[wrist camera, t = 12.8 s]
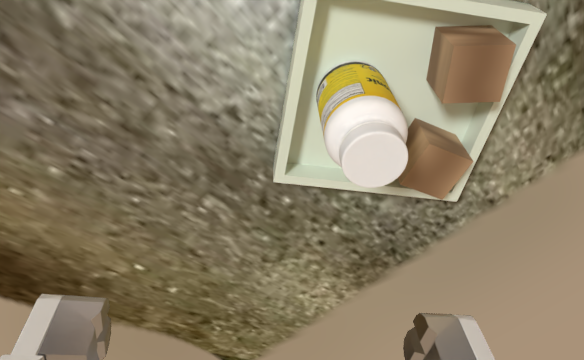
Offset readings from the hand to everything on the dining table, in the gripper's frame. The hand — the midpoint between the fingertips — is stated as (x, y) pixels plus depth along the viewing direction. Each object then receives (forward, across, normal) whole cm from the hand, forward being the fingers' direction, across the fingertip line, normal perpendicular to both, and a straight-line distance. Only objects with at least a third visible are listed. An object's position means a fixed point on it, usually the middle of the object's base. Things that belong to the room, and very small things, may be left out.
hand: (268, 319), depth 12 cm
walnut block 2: (+24, -15, +7) cm, 29 cm away
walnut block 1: (+24, -15, -1) cm, 28 cm away
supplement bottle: (+24, -8, +4) cm, 26 cm away
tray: (+24, -11, +3) cm, 27 cm away
